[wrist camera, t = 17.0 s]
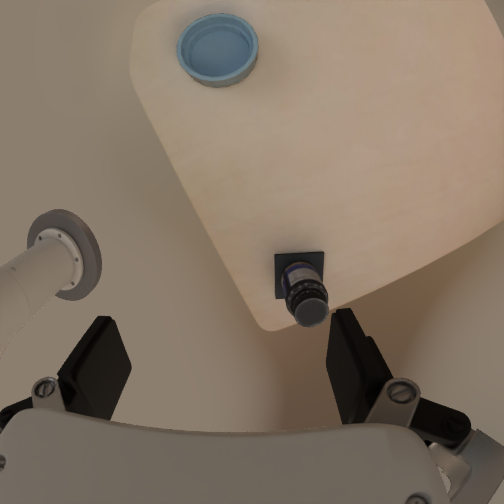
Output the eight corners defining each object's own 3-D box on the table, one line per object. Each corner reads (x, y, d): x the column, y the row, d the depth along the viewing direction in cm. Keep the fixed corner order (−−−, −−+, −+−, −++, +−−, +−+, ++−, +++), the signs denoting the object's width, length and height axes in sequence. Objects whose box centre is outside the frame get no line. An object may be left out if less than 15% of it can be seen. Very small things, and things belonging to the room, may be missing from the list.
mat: (275, 297, 49) (275, 299, 48) (274, 254, 46) (274, 255, 45) (321, 294, 48) (321, 296, 48) (323, 251, 46) (324, 252, 45)
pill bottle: (306, 297, 48) (319, 337, 38) (274, 285, 47) (280, 324, 37) (323, 267, 46) (342, 302, 36) (290, 253, 45) (302, 286, 35)
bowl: (185, 91, 36) (177, 85, 32) (184, 31, 32) (176, 19, 28) (259, 85, 36) (260, 77, 31) (254, 24, 32) (255, 10, 28)
